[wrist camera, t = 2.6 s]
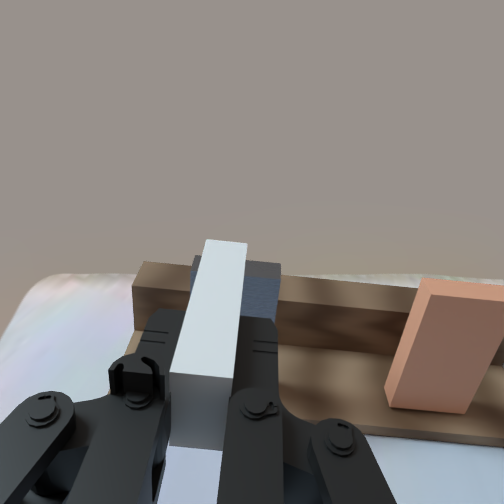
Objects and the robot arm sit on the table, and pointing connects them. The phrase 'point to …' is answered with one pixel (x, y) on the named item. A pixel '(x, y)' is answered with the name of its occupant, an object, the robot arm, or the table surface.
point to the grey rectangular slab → (254, 287)
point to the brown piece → (340, 355)
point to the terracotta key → (446, 345)
